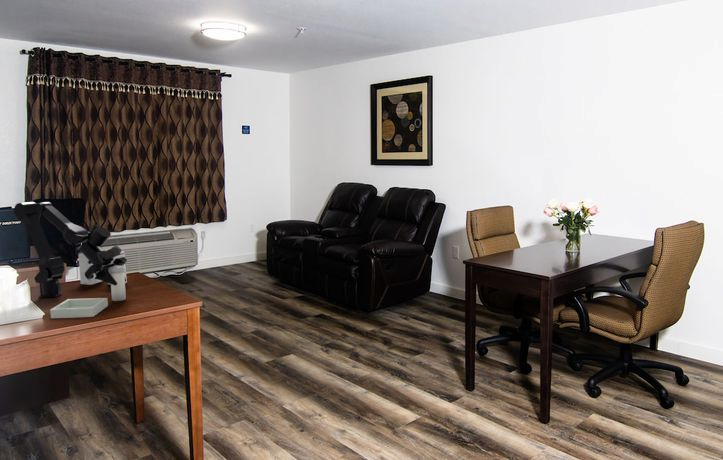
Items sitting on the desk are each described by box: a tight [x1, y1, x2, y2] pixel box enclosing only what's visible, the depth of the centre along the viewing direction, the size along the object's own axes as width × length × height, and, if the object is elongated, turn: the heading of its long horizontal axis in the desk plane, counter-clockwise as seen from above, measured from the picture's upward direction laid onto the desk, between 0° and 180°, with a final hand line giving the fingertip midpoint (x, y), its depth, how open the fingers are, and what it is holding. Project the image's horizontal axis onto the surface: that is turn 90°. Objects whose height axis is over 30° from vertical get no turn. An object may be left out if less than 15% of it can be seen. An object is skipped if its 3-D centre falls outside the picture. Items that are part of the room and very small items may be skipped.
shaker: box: [109, 266, 127, 302], centre depth 205 cm, size 5×5×13 cm
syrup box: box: [107, 250, 128, 286], centre depth 231 cm, size 6×6×14 cm
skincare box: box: [77, 248, 104, 286], centre depth 234 cm, size 8×6×15 cm
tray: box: [49, 297, 109, 319], centre depth 189 cm, size 14×14×3 cm
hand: (120, 283), depth 205 cm, fingers closed on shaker, 5 cm apart
